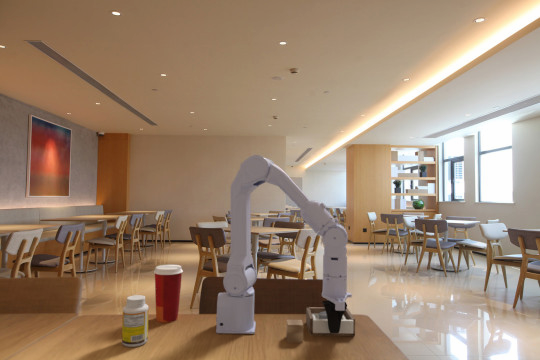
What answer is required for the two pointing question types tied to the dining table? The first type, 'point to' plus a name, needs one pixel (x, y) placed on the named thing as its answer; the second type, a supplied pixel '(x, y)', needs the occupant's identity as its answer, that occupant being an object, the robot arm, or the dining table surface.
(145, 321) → the supplement bottle
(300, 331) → the wooden block
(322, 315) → the grey dome
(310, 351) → the dining table surface
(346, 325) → the white drawer
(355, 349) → the dining table surface
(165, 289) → the paper cup
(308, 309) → the open square box
